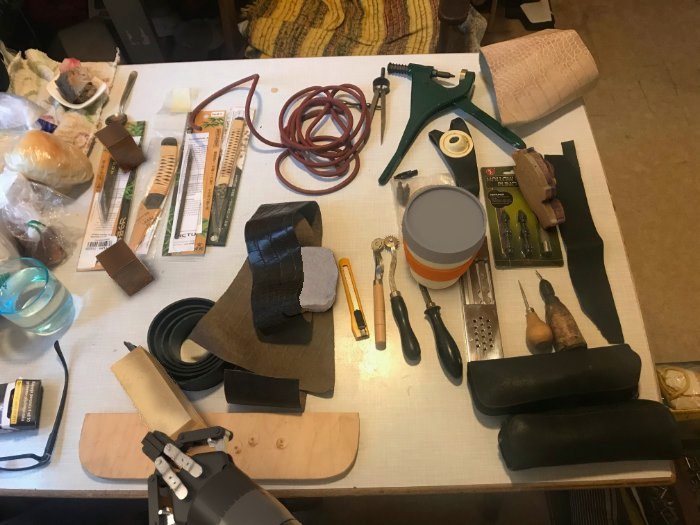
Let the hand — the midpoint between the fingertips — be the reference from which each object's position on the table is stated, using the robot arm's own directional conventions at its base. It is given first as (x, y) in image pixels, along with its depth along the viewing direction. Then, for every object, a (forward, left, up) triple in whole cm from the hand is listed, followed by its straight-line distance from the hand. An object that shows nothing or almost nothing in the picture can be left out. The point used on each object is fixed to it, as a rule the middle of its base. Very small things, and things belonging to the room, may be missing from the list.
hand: (149, 438), depth 62 cm
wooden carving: (+71, -4, -15) cm, 73 cm away
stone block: (+31, +10, -15) cm, 36 cm away
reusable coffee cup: (+49, -2, -15) cm, 51 cm away
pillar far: (+21, +56, -15) cm, 62 cm away
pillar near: (+9, +31, -15) cm, 36 cm away
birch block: (+2, +8, -15) cm, 17 cm away
